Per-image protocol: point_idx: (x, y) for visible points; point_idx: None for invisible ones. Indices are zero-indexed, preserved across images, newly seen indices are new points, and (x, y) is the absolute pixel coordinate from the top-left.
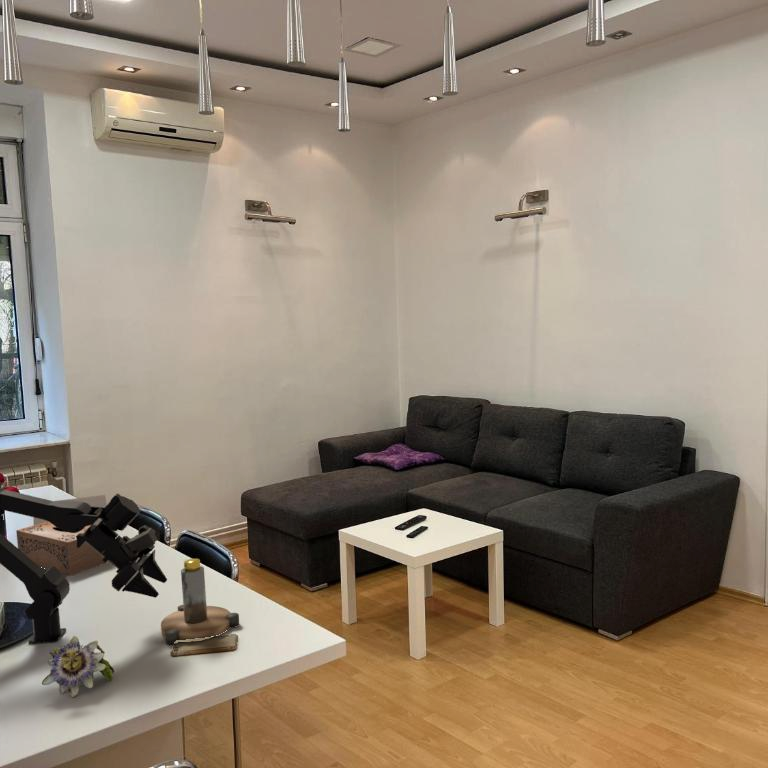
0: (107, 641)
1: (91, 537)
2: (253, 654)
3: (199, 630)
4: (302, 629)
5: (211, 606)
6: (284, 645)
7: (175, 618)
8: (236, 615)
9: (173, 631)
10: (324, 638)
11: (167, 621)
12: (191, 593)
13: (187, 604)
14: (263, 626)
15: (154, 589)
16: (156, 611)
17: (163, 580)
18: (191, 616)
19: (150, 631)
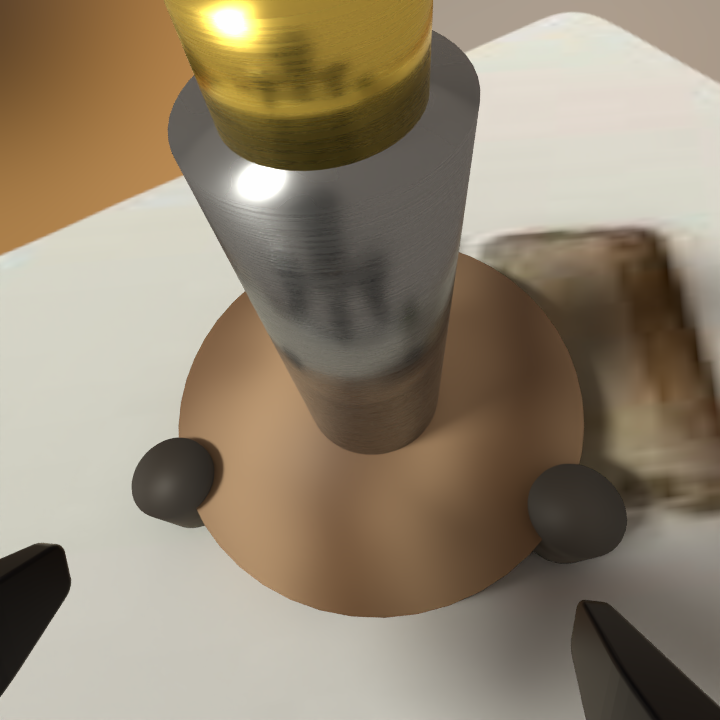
0: None
1: None
2: (692, 175)
3: (538, 356)
4: None
5: (215, 332)
6: (607, 105)
7: (324, 516)
8: None
9: (574, 499)
10: (555, 31)
11: (362, 569)
12: (454, 281)
13: (435, 369)
14: None
15: (671, 677)
16: (25, 699)
17: (45, 594)
18: (439, 386)
19: (362, 705)
